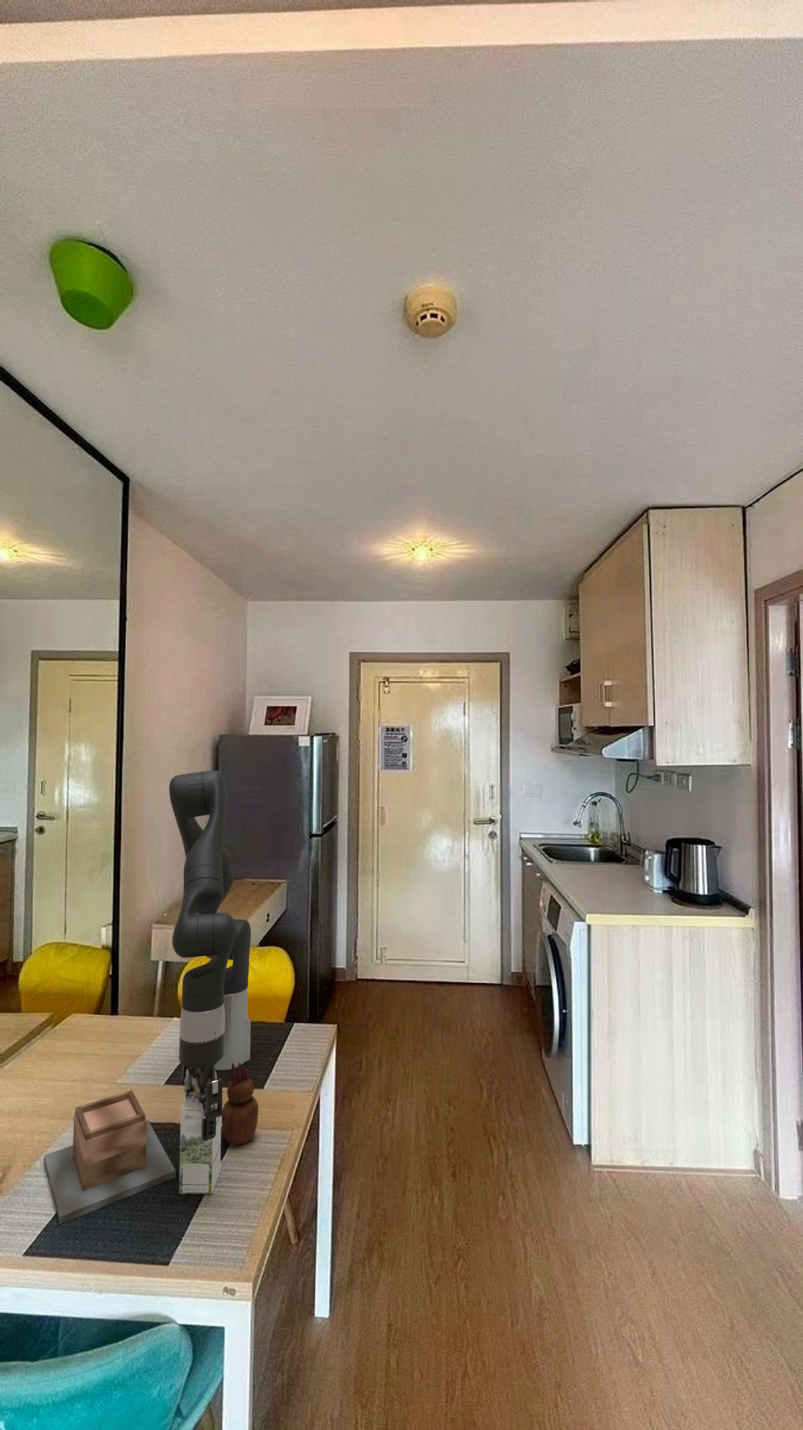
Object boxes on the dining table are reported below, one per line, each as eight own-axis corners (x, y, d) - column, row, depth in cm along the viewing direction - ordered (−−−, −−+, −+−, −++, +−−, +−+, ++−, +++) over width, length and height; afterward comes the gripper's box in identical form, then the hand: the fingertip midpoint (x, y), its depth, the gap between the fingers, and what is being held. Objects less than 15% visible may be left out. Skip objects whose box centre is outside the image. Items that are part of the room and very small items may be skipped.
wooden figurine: (224, 1153, 116) (226, 1071, 117) (218, 1136, 121) (220, 1057, 122) (261, 1143, 119) (262, 1063, 120) (253, 1126, 124) (254, 1049, 125)
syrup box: (221, 1172, 111) (222, 1088, 112) (212, 1196, 105) (213, 1108, 106) (189, 1172, 111) (190, 1088, 112) (177, 1196, 105) (179, 1108, 106)
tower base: (147, 1126, 124) (148, 1073, 124) (175, 1177, 110) (176, 1118, 110) (44, 1162, 113) (45, 1104, 114) (59, 1224, 99) (61, 1158, 99)
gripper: (238, 1040, 106) (236, 1139, 105) (209, 1011, 117) (207, 1100, 116) (194, 1053, 101) (191, 1156, 100) (168, 1021, 113) (165, 1114, 112)
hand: (200, 1126), depth 108 cm, fingers open, 8 cm apart
